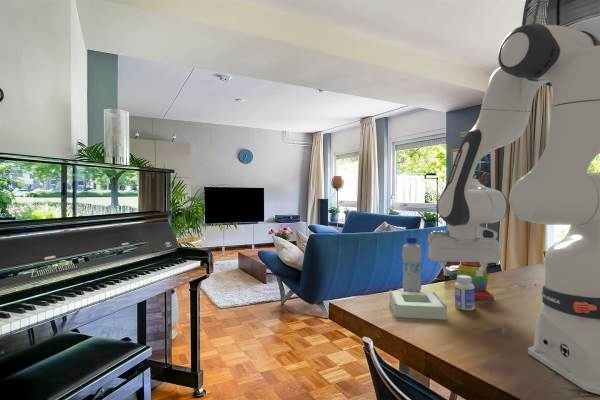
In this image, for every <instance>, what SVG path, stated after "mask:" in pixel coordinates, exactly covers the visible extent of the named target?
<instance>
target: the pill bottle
mask: <svg viewBox="0 0 600 400" xmlns="http://www.w3.org/2000/svg"><path fill="white" fill-rule="evenodd" d="M456 280H457V282H455V284H454V307H455V308H456V309H458V310H461V311H467V312H469V311H473V310H474V309H475V306H476V305H475V301H476V300H475V299H474V285H473V284H472V283H471V282H472V278H471V277H470V276H467V275H458V276H457V275H456Z"/></svg>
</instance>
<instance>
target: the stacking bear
mask: <svg viewBox="0 0 600 400" xmlns="http://www.w3.org/2000/svg"><path fill="white" fill-rule="evenodd" d="M480 267H481V264H480V262H460V263H459V264H458V269H457V273H456V277H457V276H458V275H467V276H470V277H471V278H472V282H471V283H472V284H473V285H474V300H483V301H493V300H494V297H495V296H494V295H493V293H491V292H489V291H488V290H487V287H488V286H487V285H488V281H489V280H488V279H489V277H488V276H489V274H488V271H487V268H486V269H485V270H484V271H483V277H477V276H476V270H479V268H480Z"/></svg>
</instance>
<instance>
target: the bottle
mask: <svg viewBox="0 0 600 400" xmlns="http://www.w3.org/2000/svg"><path fill="white" fill-rule="evenodd" d="M417 243H418V239H417V237H415V236H408V237H407V238H406V244H403V246H402V250H401V251H402V252H401V256H402V258H401V259H402V274H403V275H402V291H403V292H421V289H422V279H421V275H422V274H421V271H422V270H421V261H422V258H423V257H422V255H423V254H422V249H421V245H419V244H417Z"/></svg>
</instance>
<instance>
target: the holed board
mask: <svg viewBox="0 0 600 400" xmlns="http://www.w3.org/2000/svg"><path fill="white" fill-rule="evenodd" d="M389 304H390V306H391V309H392V313H393V315H394V318H404V319H405V318H407V319H424V320H426V319H427V320H445V321H446V320H448V306H447V304H446V302H444V300H442V298H441V297H440V296H439V295H438V294H437V293H436V291H432V292H427V291H426V292H421V291H420V292H412V291H410V292H404V291H399V290H398V291H393V290H391V289H389Z"/></svg>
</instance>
